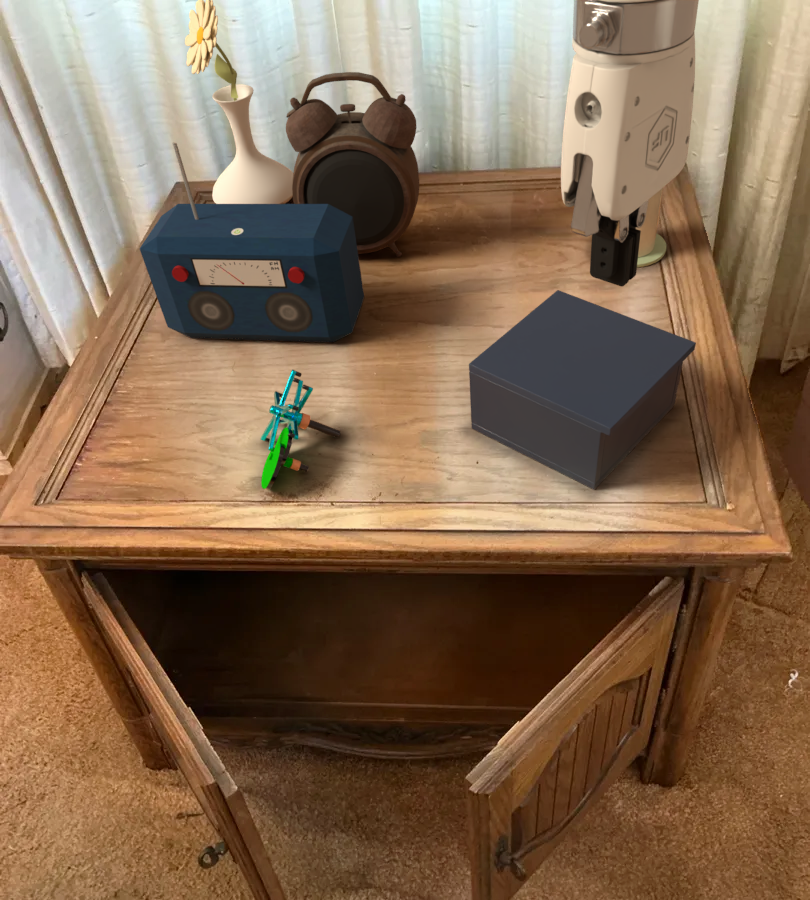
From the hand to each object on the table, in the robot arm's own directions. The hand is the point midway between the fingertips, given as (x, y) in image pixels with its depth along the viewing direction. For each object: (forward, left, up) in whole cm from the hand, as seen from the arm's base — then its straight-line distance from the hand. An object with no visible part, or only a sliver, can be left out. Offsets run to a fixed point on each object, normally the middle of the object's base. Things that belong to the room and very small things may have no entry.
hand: (612, 276), depth 67 cm
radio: (+36, -14, -16) cm, 42 cm away
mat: (-3, -31, -16) cm, 35 cm away
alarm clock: (+28, -29, -16) cm, 44 cm away
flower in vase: (+45, -40, -16) cm, 63 cm away
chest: (+2, -1, -16) cm, 16 cm away
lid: (+2, -1, -9) cm, 9 cm away
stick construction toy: (+27, +6, -16) cm, 32 cm away
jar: (-3, -31, -16) cm, 35 cm away
